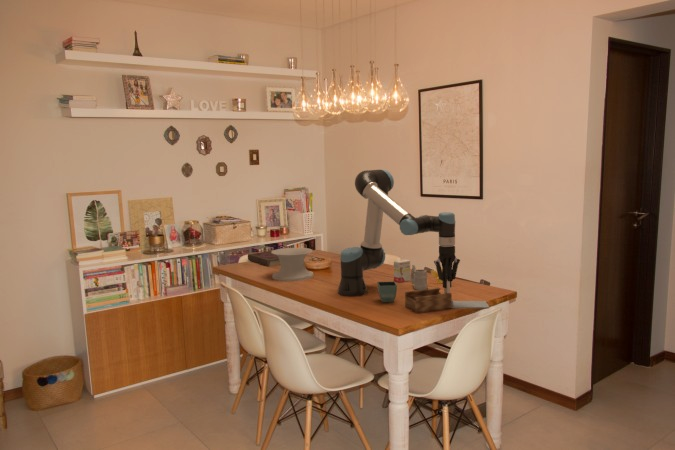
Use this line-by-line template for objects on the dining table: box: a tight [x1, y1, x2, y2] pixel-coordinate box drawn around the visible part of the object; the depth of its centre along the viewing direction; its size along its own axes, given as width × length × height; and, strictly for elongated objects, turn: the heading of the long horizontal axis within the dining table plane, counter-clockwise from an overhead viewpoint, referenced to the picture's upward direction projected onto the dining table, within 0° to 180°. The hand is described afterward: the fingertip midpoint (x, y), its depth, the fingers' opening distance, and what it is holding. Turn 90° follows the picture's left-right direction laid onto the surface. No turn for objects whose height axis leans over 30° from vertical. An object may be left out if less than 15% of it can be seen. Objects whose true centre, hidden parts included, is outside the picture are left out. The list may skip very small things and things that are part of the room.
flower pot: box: [376, 281, 398, 303], centre depth 266 cm, size 9×9×9 cm
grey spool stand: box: [271, 247, 314, 282], centre depth 326 cm, size 25×25×16 cm
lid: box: [452, 299, 490, 309], centre depth 256 cm, size 18×10×3 cm, turn 83°
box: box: [404, 287, 453, 314], centre depth 253 cm, size 18×12×7 cm, turn 108°
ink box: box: [393, 258, 411, 283], centre depth 307 cm, size 9×5×12 cm, turn 120°
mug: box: [410, 264, 429, 291], centre depth 291 cm, size 8×12×12 cm, turn 31°
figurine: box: [430, 266, 443, 284], centre depth 300 cm, size 12×12×9 cm
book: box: [247, 250, 281, 268], centre depth 376 cm, size 30×22×5 cm
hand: (447, 294), depth 256 cm, fingers closed
